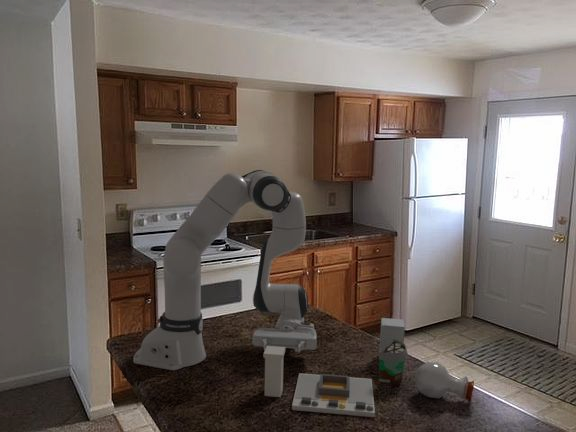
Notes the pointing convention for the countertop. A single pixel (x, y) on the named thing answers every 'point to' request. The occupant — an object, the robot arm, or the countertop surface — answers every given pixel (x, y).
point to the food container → (392, 363)
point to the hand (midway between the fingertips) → (281, 349)
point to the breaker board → (334, 395)
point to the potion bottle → (442, 382)
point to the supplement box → (391, 332)
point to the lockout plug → (274, 370)
